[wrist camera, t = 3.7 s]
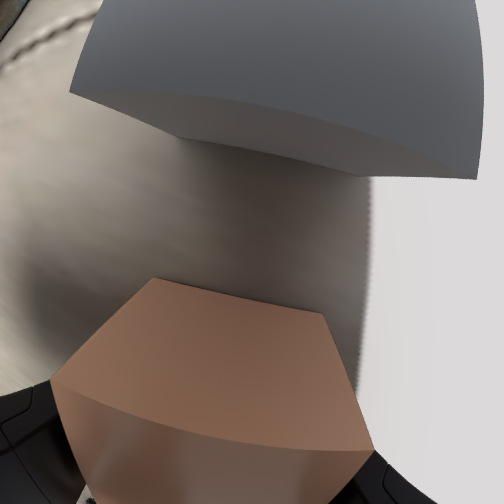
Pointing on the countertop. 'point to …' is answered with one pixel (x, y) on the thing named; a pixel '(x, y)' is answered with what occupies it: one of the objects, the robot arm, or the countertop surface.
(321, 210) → the countertop surface
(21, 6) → the figurine
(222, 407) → the terracotta cube
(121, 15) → the slate cube
